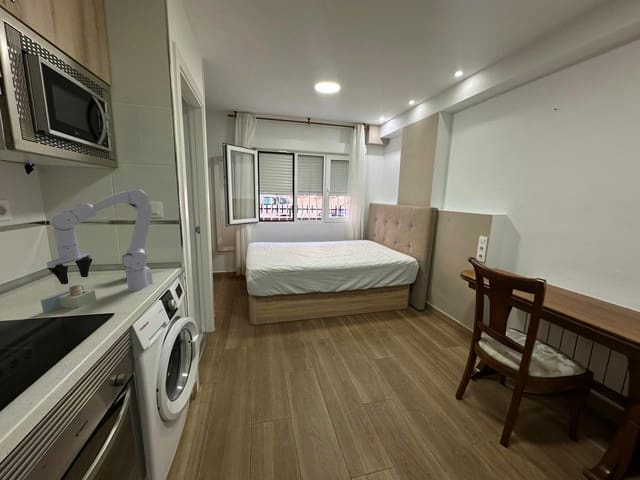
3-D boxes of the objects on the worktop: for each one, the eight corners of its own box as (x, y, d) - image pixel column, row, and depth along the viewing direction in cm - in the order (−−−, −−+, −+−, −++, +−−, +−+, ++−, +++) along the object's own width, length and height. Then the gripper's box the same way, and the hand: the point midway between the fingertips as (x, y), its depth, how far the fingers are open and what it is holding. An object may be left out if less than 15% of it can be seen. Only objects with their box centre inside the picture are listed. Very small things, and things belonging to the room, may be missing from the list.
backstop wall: (81, 297, 105) (79, 285, 104) (85, 297, 105) (83, 285, 104) (43, 313, 92) (40, 300, 91) (47, 313, 92) (44, 300, 91)
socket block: (79, 299, 103) (77, 290, 102) (96, 299, 102) (94, 290, 102) (60, 307, 96) (58, 297, 95) (78, 307, 95) (76, 297, 95)
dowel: (87, 301, 101) (83, 285, 99) (78, 305, 97) (74, 288, 96) (79, 301, 101) (75, 285, 100) (70, 305, 98) (66, 288, 96)
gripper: (77, 241, 102) (83, 274, 105) (35, 250, 88) (44, 287, 91) (93, 241, 102) (99, 274, 105) (54, 250, 88) (62, 287, 90)
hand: (75, 280), depth 98 cm, fingers open, 7 cm apart
